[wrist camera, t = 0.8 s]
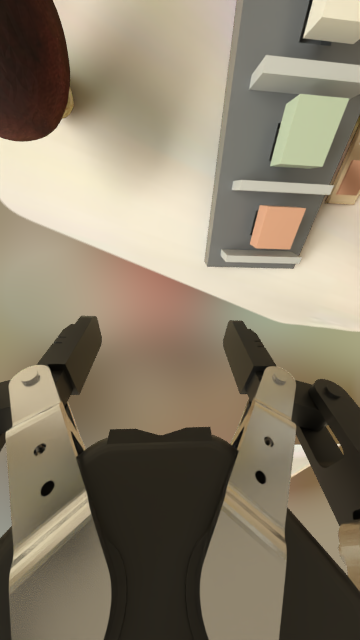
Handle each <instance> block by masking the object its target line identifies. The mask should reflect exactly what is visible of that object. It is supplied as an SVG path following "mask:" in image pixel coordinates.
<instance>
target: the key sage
mask: <svg viewBox="0 0 360 640" xmlns="http://www.w3.org/2000/svg"><path fill="white" fill-rule="evenodd" d="M348 101H349V98H339V97H329V96H318V95H308V94H299V95H298V96H296V97H295V98H294V99H292V100H291V101H290V102H288V103H287V104H286V106H285V110H284V114H283V118H282V121H281V125H280V129H279V133H278V137H277V141H276V145H275V148H274V152H273V156H272V160H271V164H270V166H273V167H288V168H304V169H310V168H317V167H323V164H324V162H325V159H326V157H327V154H328V152H329V149H330V146H331V144H332V141H333V139H334V136H335V134H336V131H337V129H338V126H339V124H340V121H341V118H342V116H343V113H344V111H345V108H346V106H347V103H348Z"/></svg>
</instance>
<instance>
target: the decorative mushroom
mask: <svg viewBox="0 0 360 640" xmlns="http://www.w3.org/2000/svg"><path fill="white" fill-rule="evenodd" d="M73 105H74V104H73V97H72V92H71V89H70V67H69V58H68V51H67V45H66V40H65V36H64V32H63V28H62V24H61V21H60V18H59V15H58V12H57V9H56V7H55V5H54V2H53V0H0V137H1V138H4V139H8V140H13V141H32V140H37V139H40V138H43V137H46V136H47V135H49V134H50V133H51V132H52V131H54V130H55V129H56V128H57V126H58V124H59V123H60V121H61V119H62V118H65V117H67V116H68V115H69V114H70V113H71V111H72V109H73Z"/></svg>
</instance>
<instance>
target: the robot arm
mask: <svg viewBox="0 0 360 640" xmlns="http://www.w3.org/2000/svg"><path fill="white" fill-rule="evenodd" d="M101 342H102V336H101V332H100V328H99V324H98V320H97V317H96V316H81V317H80V318H79V319H78V321H77V322H76V323H75V324H71V325H69V326H68V327H67V328H65V329H64V330H63V331H62V332H61V333H60V335H59V336H58V338H57V339H56V340H55V341H54V344H52V345H51V347H50V348H49V349H48V350H47V352H46V353H45V354H44V356H43V357H42V358H41V360H40V361H39V362H38V364H37V365H35V366H31V367H28V368H25V369H23V370H22V371H20V372H19V373H17V374H16V375H15V376H14V377H13V378H12V380H9V381H5V382H1V383H0V451H1V449H2V448H3V446H4V444H5V443H6V451H7V464H8V479H9V493H10V507H11V520H12V526H11V527H10V528H9V530H7V532H6V533H5V534H4V535H3V536H2V537H1V538H0V640H360V408H359V407H358V405H357V404H356V403H355V402H354V401H353V399H352V398H351V397H350V396H349V395H348V393H347V392H346V391H345V390H344V389H343V388H341V387H340V386H339V385H337V384H335V383H334V382H331V381H329V380H325V379H318V380H316V381H315V383H314V384H313V385H311V384H307V383H304V382H300V381H296V380H295V379H294V378H293V377H292V375H291V374H290V373H288V372H287V371H286V370H284V369H282V368H279V367H277V366H276V365H275V363H274V362H273V360H272V358H271V356H270V355H269V353H268V352H267V350H266V348H264V345H263V344H262V342H261V340H260V339H259V337H258V336H257V334H256V333H254V332H253V331H252V330H251V329H247V327H246V326H245V324H244V322H243V321H232V320H230V321H229V322H228V326H227V329H226V332H225V336H224V339H223V347H224V350H225V353H226V356H227V358H228V362H229V364H230V367H231V370H232V373H233V376H234V378H235V381H236V384H237V387H238V390H239V393H240V394H248V396H249V400H248V402H247V404H246V407H245V410H244V412H243V415H242V418H241V420H240V423H239V425H238V428H237V431H236V433H235V435H234V437H233V439H232V441H231V444H229V443H228V442H227V441H225V440H223V439H221V438H219V437H217V436H215V435H211V430H210V427H193V428H184V429H181V430H178V431H174V432H172V433H169V434H165V435H156V434H152V433H149V432H145V431H141V430H138V429H115V430H114V429H113V430H110V432H109V436H108V438H105V439H103V440H100V441H98V442H97V443H95V444H93V445H91V446H90V447H89V448H87V449H86V448H85V445H84V443H83V441H82V439H81V436H80V434H79V431H78V428H77V426H76V423H75V420H74V417H73V415H72V412H71V409H70V406H69V403H68V399H69V397H70V395H79V394H80V392H81V390H82V387H83V385H84V383H85V381H86V378H87V376H88V374H89V372H90V369H91V367H92V365H93V362H94V360H95V358H96V356H97V353H98V351H99V349H100V346H101ZM327 425H329V427H330V428H331V430H332V432H333V433H334V435H335V436H336V438H337V439H338V441H339V443H340V444H341V446H342V448H343V452H344V455H343V454H342V452H341V451H340V449H339V447H338V446H337V444H336V443H335V441H334V440H333V438H332V436H331V434H330V433H329V431H328V430H327V428H326V426H327ZM295 435H297V437H298V439H299V441H300V443H301V446H302V448H303V450H304V452H305V454H306V456H307V458H308V460H309V463H310V465H311V467H312V469H313V471H314V473H315V475H316V477H317V479H318V482H319V484H320V486H321V488H322V490H323V492H324V494H325V496H326V498H327V500H328V503H329V505H330V507H331V509H332V511H333V513H334V515H335V517H336V519H337V522H338V524H339V526H340V528H339V531H338V538H339V543H340V544H339V546H338V550H339V554H340V557H341V559H342V561H343V562H344V564H345V565H346V566H347V574H348V576H347V575H346V573H345V572H344V571H343V570H342V569H341V568H340V567H339V566H338V564H337V563H336V562H335V561H334V560H333V559H332V558H331V556H330V555H329V554H328V553H327V552H326V551H325V550H324V548H323V547H322V546H321V545H320V544H319V543H318V542H317V540H316V539H315V538H314V537H313V536H312V535H311V534H310V533H309V531H308V530H307V529H306V528H305V527H304V526H303V525H302V523H301V522H300V521H299V520H298V519H297V518H296V517H295V515H294V514H293V513H292V512H291V511H290V510H289V509H288V507H287V503H288V495H289V487H290V478H291V470H292V461H293V452H294V443H295Z"/></svg>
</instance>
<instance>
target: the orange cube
mask: <svg viewBox="0 0 360 640" xmlns="http://www.w3.org/2000/svg"><path fill="white" fill-rule="evenodd" d="M305 210H306V208H300V207H289V206H268V205H260V206H259V210H258V214H257V218H256V222H255V226H254V229H253V233H252V237H251V241H250V245H252V246H253V247H255V248H260V249H290V248H291V246H292V243H293V241H294V238H295V236H296V233H297V230H298V228H299V225H300V223H301V220H302V218H303V215H304V213H305Z"/></svg>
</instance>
